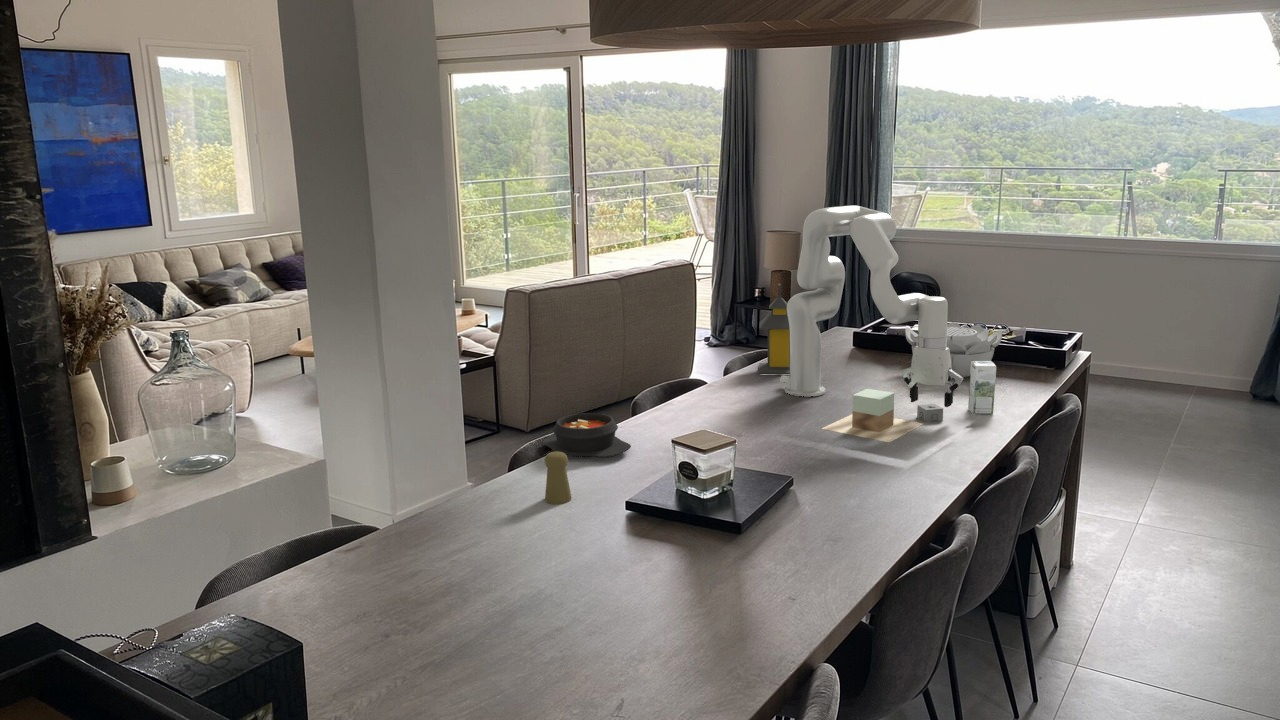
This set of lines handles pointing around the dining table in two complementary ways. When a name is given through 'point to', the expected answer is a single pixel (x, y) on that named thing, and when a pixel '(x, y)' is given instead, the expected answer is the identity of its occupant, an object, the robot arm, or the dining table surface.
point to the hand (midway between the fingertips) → (930, 403)
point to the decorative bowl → (965, 345)
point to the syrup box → (982, 387)
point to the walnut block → (872, 421)
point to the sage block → (873, 402)
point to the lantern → (777, 338)
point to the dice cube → (930, 412)
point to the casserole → (586, 436)
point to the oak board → (886, 435)
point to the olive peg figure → (557, 479)
